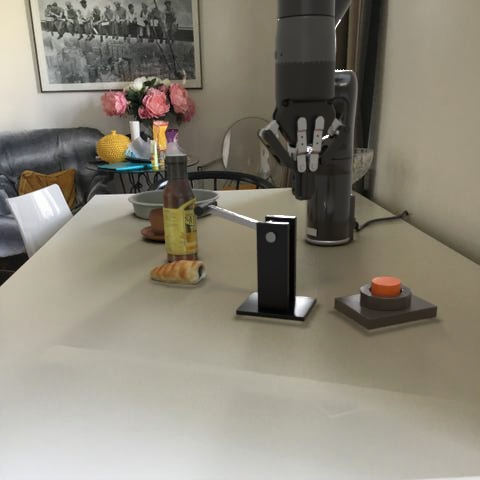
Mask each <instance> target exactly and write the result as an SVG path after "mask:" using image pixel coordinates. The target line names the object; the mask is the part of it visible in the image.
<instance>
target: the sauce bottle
mask: <svg viewBox="0 0 480 480" xmlns="http://www.w3.org/2000/svg"><path fill="white" fill-rule="evenodd" d="M164 157H165V164H166V172H167V173H166V174H167V176H166V178H167V181H166V183H165V185H164V187H163V189H164V190H163V189H162V190H163V216H164V231H165V241H164V242H165V244H164V245H165V253H166V259H167V261H168V263H172V262H179V261H181V260H184V261H197V260H198V258H199V257H198V256H199V255H198V253H199V239H198V238H199V236H198V219H197V216H196V215H195V214H194V208H195V207H196V198H195V195H194V193H193V190H192V189H193V188H192V185H191V183H190V180H189V175H188V162H189V160H188V154H186V153H173V154H165V155H164Z"/></svg>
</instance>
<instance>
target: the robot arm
mask: <svg viewBox="0 0 480 480" xmlns="http://www.w3.org/2000/svg"><path fill="white" fill-rule="evenodd" d="M352 1H353V0H276V26H275V27H276V29H275V36H274V37H275V38H274V52H273V58H274V82H275V83H274V99H275V108H274V110H273V113H272V117H271V118H272V120H271V121H270V122H269V123H268V124H267V125H266V126H265V127H264V128H259V129H258V130H257V131H256V135H257V138H258V139H259V141H260V142H261V143H262V144H263V145H264V147H265V148H266V150H267V151H268V153H269V154H270V155H271V156H272V158H273V159H274V160H275V162H276V163H277V165H278V166H279V167H282V168H285V169H288V170H289V171H290V172H291V195H292V196H294V198H295V200H297V201H301V202H302V201H305V202H306V203H305V236H304V237H305V238H304V239H305V242H306V243H308V244H311V245H316V246H327V247H328V246H331V247H333V246H341V245H345V244H348V243H350V242H354V238H355V237H354V236H355V234H354V232H355V231H357V232H359V231H361V230H362V229H363V228H366V226H368V225H371V224H373V223H379V222H385V221H393V220H398V219H402V217H403V216H404V215H406V216H409V215H410V214H409V211H408V210H407V209H404V210H402V212H401V213H400V214H398V215H393V216H387V217H379V218H373V219H370V220H366V221H365V222H364V223H362V224H361V225H360V223H359V221H357V218H356V195H355V194H352V192H353V172H354V171H353V170H354V169H353V167H354V137H355V124H356V123H355V122H356V114H357V105H358V104H357V102H358V90H359V88H358V86H359V85H358V84H359V83H358V77H357V75H356V73H355V72H354V71H353V70H350V69H349V70H347V69H346V70H344V69H343V70H341V69H340V70H336V53H337V33H336V28H337V27H338V25H339V23H340V22H341V21H342V19H343V17H344V16H345V14H346V12H347V11H348V9H349V7H350V6H351V4H352ZM280 134H281V135H280ZM281 136H282V137H283V139H284V140H285V142H286V148H287V149H285V147H284V146H283V145H282V143H281V142H280V140H279V139H280V137H281Z"/></svg>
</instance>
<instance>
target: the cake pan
mask: <svg viewBox="0 0 480 480" xmlns="http://www.w3.org/2000/svg"><path fill="white" fill-rule="evenodd" d="M163 190H164V188H163V189H154V190H149V191H148V190H147V191H142V192H137V193H135V194H132V195H130V196H129V197H128V198H127V200H128V202H129V203H131V204H132V207H133V210H134V214H135V215H136V216H137V217H138V218H141V219H144V220H149V214H150V210H152V209H156V208H163ZM192 190H193V193H194V195H195V198H196V206H198V205H200V204H202V203H204V202H207V201H209V200H211V199H215V200H216V201H217V200H218V199H219V198H220V197H221V194H220V193H219V192H217V191H214V190H209V189H201V188H192ZM210 215H211V214H210V213H205V214H203V215H202V216H197V218H202V217H206V216H210Z"/></svg>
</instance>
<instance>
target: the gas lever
mask: <svg viewBox="0 0 480 480" xmlns="http://www.w3.org/2000/svg"><path fill="white" fill-rule="evenodd" d="M205 213H210V214H209V215H213V216H216V217H219V218H221V219H224V220H228V221H230V222H233V223H236V224H239V225H241V226H245V227H247V228H250V229H253V230H256V223H257V222H258V221H259V220H257V219H253V218H251V217H248V216H245V215H242V214H240V213H237V212H234V211H232V210H231V211H230V210H228V209H225V208H222V207H220V206H218V201H217V199H216V200H215V199H211V200H209V201H207V202H204V203H202V204H200V205H198V206H196V207H195V208H194V214H195V215H196V216H202V215H203V214H205ZM269 222H278V221H275V220H271V221H269ZM289 229H290V225H289Z"/></svg>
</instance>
